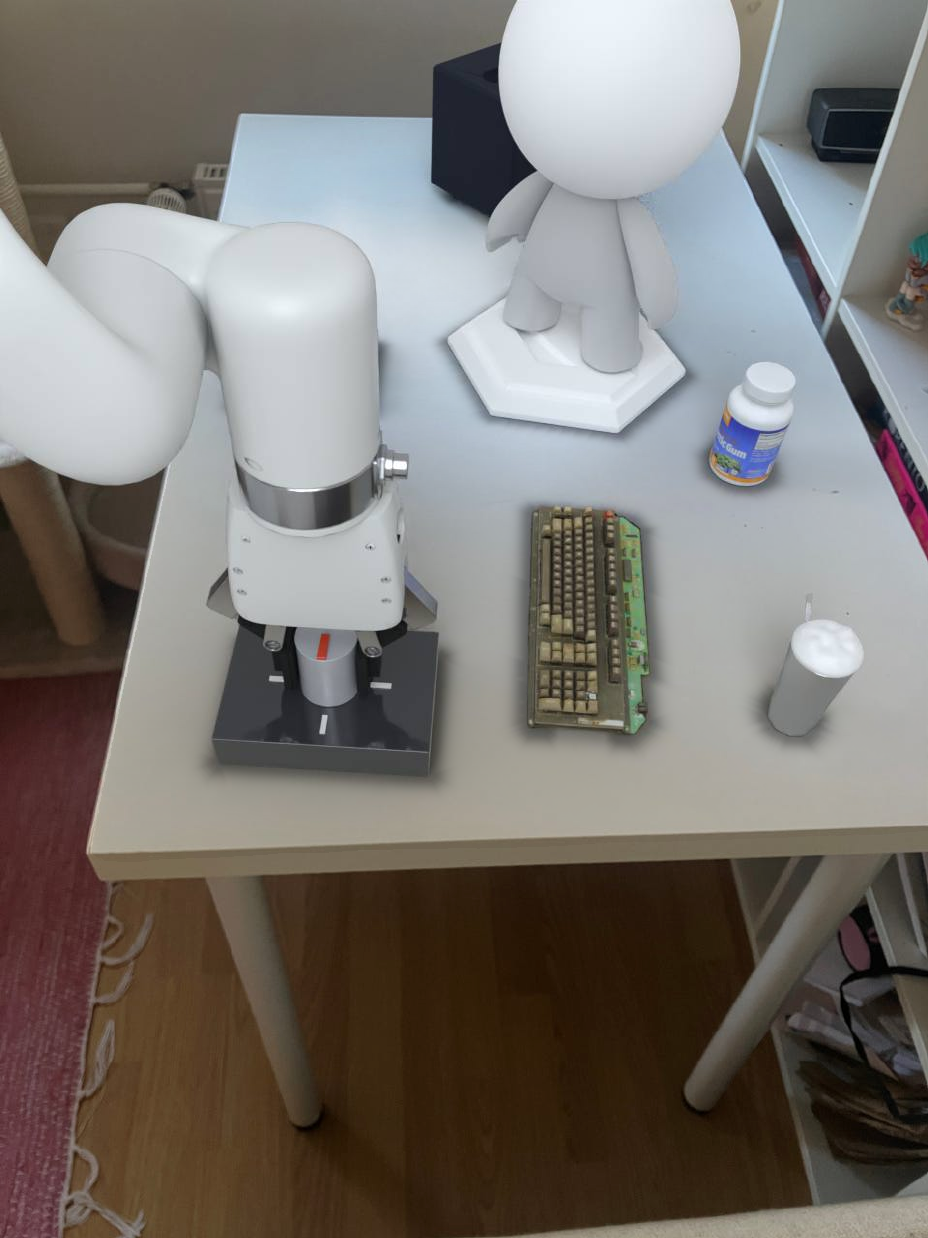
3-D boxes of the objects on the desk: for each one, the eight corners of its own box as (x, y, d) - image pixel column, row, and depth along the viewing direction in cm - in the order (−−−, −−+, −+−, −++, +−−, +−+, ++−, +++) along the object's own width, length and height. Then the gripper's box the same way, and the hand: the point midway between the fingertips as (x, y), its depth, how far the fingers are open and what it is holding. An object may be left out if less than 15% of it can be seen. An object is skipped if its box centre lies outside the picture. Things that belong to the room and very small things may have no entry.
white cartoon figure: (715, 349, 99) (831, -63, 72) (580, 466, 87) (659, 24, 60) (551, 272, 106) (601, -127, 79) (408, 369, 94) (409, -61, 68)
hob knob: (305, 656, 69) (299, 606, 65) (363, 660, 69) (361, 611, 65) (295, 704, 66) (288, 655, 62) (356, 709, 66) (353, 660, 62)
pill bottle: (696, 455, 88) (723, 363, 81) (746, 440, 90) (777, 349, 83) (731, 495, 85) (762, 403, 78) (782, 478, 87) (818, 387, 80)
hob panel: (217, 764, 66) (210, 737, 64) (245, 645, 73) (240, 617, 70) (428, 777, 67) (429, 751, 64) (438, 657, 73) (439, 630, 70)
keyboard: (531, 510, 83) (534, 492, 82) (639, 519, 83) (644, 501, 82) (523, 729, 69) (526, 712, 68) (653, 740, 69) (659, 723, 68)
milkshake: (793, 675, 73) (839, 585, 66) (835, 734, 70) (888, 646, 62) (739, 692, 72) (779, 602, 64) (780, 752, 69) (827, 665, 61)
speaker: (557, 141, 126) (572, 9, 114) (635, 181, 120) (659, 46, 108) (428, 195, 116) (431, 56, 104) (507, 241, 110) (518, 99, 98)
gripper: (471, 431, 55) (458, 638, 69) (166, 412, 55) (214, 624, 69) (466, 528, 50) (452, 730, 64) (131, 507, 50) (191, 714, 64)
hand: (329, 673), depth 67 cm, fingers closed on hob knob, 4 cm apart
